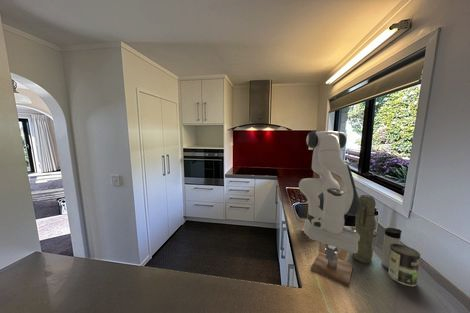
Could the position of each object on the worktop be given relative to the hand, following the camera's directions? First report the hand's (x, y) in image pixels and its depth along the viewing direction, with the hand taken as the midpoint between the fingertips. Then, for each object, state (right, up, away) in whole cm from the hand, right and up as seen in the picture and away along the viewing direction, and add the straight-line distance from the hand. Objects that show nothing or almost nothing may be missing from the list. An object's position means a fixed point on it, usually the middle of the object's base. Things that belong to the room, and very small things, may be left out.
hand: (330, 254), depth 85 cm
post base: (+4, -11, +7) cm, 14 cm away
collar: (+3, -2, +4) cm, 6 cm away
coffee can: (+35, -13, +2) cm, 37 cm away
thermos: (+26, -11, +17) cm, 33 cm away
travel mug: (+36, -12, +10) cm, 39 cm away
